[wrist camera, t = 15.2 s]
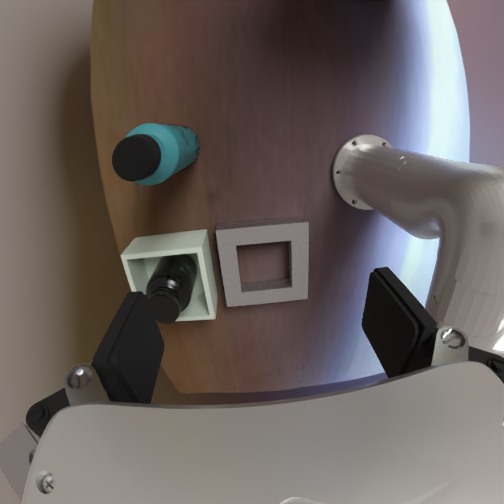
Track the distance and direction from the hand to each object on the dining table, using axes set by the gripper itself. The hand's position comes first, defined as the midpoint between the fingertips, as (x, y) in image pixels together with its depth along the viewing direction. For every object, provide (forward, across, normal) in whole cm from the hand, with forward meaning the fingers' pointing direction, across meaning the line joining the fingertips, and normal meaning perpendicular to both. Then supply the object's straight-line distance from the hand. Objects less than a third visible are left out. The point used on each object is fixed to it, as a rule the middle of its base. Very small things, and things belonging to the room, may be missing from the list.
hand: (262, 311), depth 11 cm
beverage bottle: (+32, +9, -6) cm, 34 cm away
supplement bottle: (+32, +13, +14) cm, 37 cm away
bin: (+32, +13, +14) cm, 38 cm away
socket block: (+32, -2, +14) cm, 35 cm away
